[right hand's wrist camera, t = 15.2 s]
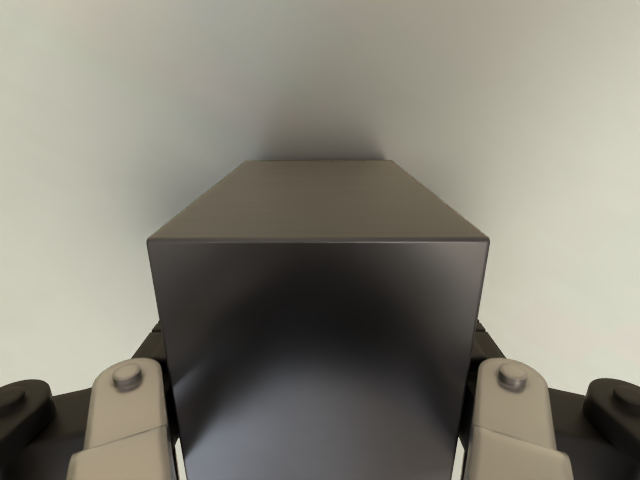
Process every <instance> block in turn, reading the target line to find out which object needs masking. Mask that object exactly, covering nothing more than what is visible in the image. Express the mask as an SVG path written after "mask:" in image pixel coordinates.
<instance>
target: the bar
mask: <svg viewBox="0 0 640 480" xmlns="http://www.w3.org/2000/svg"><path fill="white" fill-rule="evenodd" d="M489 245H490V240H489V237H487V236H486V235H485V234H484V233H482V232H481V231H480V230H479V229H477V228H476V227H475V226H473V225H472V224H471V223H470V222H468V221H467V220H466V219H465V218H463V217H462V216H461V215H460V214H458V213H457V212H456V211H455V210H453V209H452V208H451V207H450V206H448V205H447V204H446V203H445V202H443V201H442V200H441V199H440V198H438V197H437V196H436V195H435V194H433V193H432V192H431V191H429V190H428V189H427V188H426V187H424V186H423V185H422V184H421V183H419V182H418V181H417V180H416V179H414V178H413V177H412V176H411V175H409V174H408V173H407V172H406V171H404V170H403V169H402V168H401V167H399V166H398V165H397V164H396V163H394V162H393V161H391V160H371V161H245V162H244V163H242V164H241V165H240V166H239V167H237V168H236V169H235V170H234V171H232V172H231V173H230V174H229V175H227V176H226V177H225V178H223V179H222V180H221V181H220V182H218V183H217V184H216V185H215V186H213V187H212V188H211V189H210V190H208V191H207V192H206V193H204V194H203V195H202V196H201V197H199V198H198V199H197V200H196V201H194V202H193V203H192V204H191V205H189V206H188V207H187V208H185V209H184V210H183V211H182V212H180V213H179V214H178V215H177V216H175V217H174V218H173V219H172V220H170V221H169V222H168V223H166V224H165V225H164V226H163V227H161V228H160V229H159V230H158V231H156V232H155V233H154V234H153V235H151V236H150V237H149V238H147V249H148V255H149V261H150V267H151V272H152V278H153V284H154V290H155V296H156V302H157V308H158V314H159V320H160V325H161V331H162V337H163V343H164V349H165V355H166V361H167V367H168V372H169V378H170V384H171V390H172V396H173V402H174V408H175V414H176V419H177V425H178V431H179V437H180V443H181V449H182V455H183V461H184V466H185V472H186V478H187V480H451V478H452V472H453V465H454V459H455V453H456V447H457V441H458V435H459V429H460V422H461V416H462V410H463V404H464V398H465V392H466V386H467V380H468V373H469V367H470V361H471V355H472V349H473V343H474V337H475V331H476V324H477V318H478V312H479V306H480V300H481V294H482V288H483V281H484V275H485V269H486V263H487V257H488V251H489Z"/></svg>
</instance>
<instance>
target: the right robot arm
mask: <svg viewBox="0 0 640 480" xmlns="http://www.w3.org/2000/svg"><path fill="white" fill-rule="evenodd" d="M458 437H459V438H460V441H461V443H462V445H463V448H464V455H463V461H462V469H461V477H460V480H640V387H639V386H636V385H634V384H631V383H628V382H625V381H621V380H617V379H610V378H601V379H596V380H594V381H592V382H591V383H590V385H589V387H588V390H587V393H586V396H584V395H580V394H575V393H570V392H566V391H561V390H556V389H552V388H548V386H547V383H546V381H545V379H544V378H543V377H542V376H541V375H540V374H539V373H538V372H537V371H535V370H534V369H533V368H531V367H529V366H528V365H525V364H523V363H521V362H518V361H515V360H512V359H507V358H506V357H505V356H504V355H503V353H502V352H501V350H500V349H499V348H498V346H497V345H496V344H495V342H494V341H493V339H492V338H491V337H490V335H489V334H488V333H487V332H486V331H485V328H484V327H483V326H482V324H481V323H479V320H478V319H477V324H476V331H475V337H474V343H473V349H472V355H471V361H470V367H469V373H468V380H467V386H466V392H465V398H464V404H463V410H462V416H461V422H460V429H459V435H458ZM178 438H180V437H179V431H178V425H177V419H176V414H175V408H174V402H173V396H172V390H171V384H170V378H169V372H168V367H167V361H166V355H165V349H164V343H163V337H162V331H161V325H160V320H159V321H158V324H156V325H155V327H154V328H153V330H152V332H150V334H149V335H148V336H147V338H146V339H145V340H144V342H143V343H142V344H141V346H140V347H139V349H138V350H137V351H136V353H135V354H134V355H133V357H132V358H131V359H128V360H125V361H122V362H119V363H117V364H115V365H112V366H111V367H109V368H107V369H106V370H104V371H103V372H102V373H101V374H100V375H99V376H98V377H97V378H96V379H95V381H94V383H93V386H92V387H91V388H88V389H84V390H80V391H75V392H71V393H66V394H61V395H57V396H52V393H51V390H50V387H49V385H48V384H47V383H46V382H44V381H42V380H34V379H31V380H23V381H18V382H14V383H11V384H8V385H5V386H3V387H0V480H180V477H179V469H178V461H177V455H176V449H175V444H176V442H177V439H178Z"/></svg>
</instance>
